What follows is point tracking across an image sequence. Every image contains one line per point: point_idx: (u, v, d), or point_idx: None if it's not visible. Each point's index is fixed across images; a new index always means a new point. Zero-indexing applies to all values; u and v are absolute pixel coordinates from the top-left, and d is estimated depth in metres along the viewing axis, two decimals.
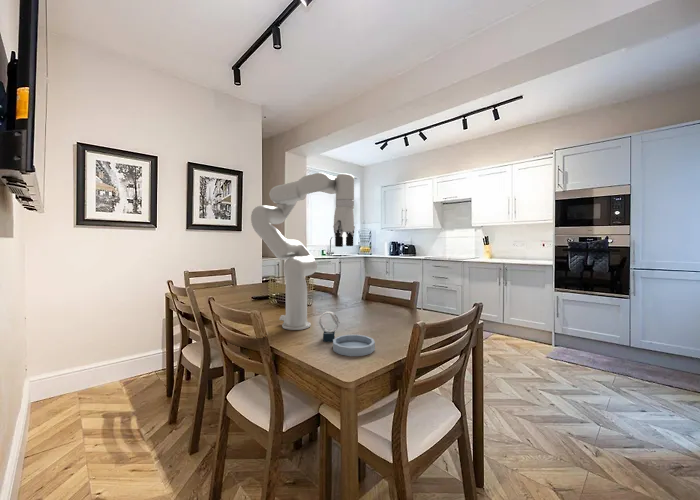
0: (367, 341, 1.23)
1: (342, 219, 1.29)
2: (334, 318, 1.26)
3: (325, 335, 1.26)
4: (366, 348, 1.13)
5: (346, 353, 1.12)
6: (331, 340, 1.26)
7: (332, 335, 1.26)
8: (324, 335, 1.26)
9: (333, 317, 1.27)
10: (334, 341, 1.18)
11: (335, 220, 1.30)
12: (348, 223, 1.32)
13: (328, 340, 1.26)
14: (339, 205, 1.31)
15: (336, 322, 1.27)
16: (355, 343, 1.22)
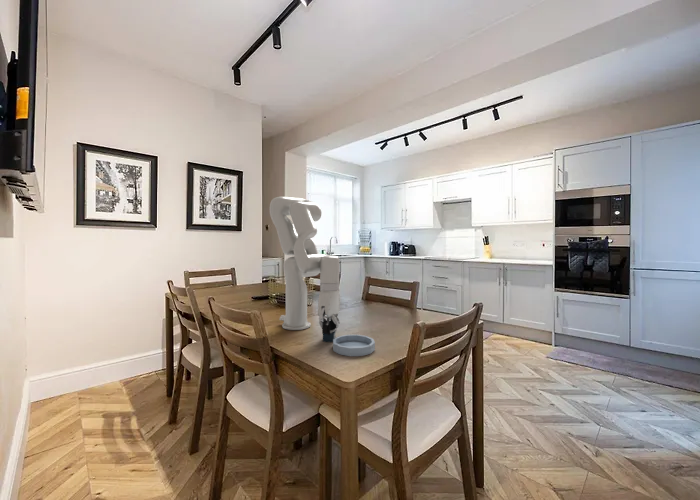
0: (367, 341, 1.23)
1: (326, 305, 1.23)
2: (334, 318, 1.26)
3: (325, 335, 1.26)
4: (366, 348, 1.13)
5: (346, 353, 1.12)
6: (331, 340, 1.26)
7: (331, 335, 1.26)
8: (324, 335, 1.26)
9: (333, 317, 1.26)
10: (334, 341, 1.18)
11: (319, 305, 1.25)
12: (333, 307, 1.26)
13: (328, 340, 1.26)
14: (323, 289, 1.25)
15: (336, 322, 1.26)
16: (355, 343, 1.22)
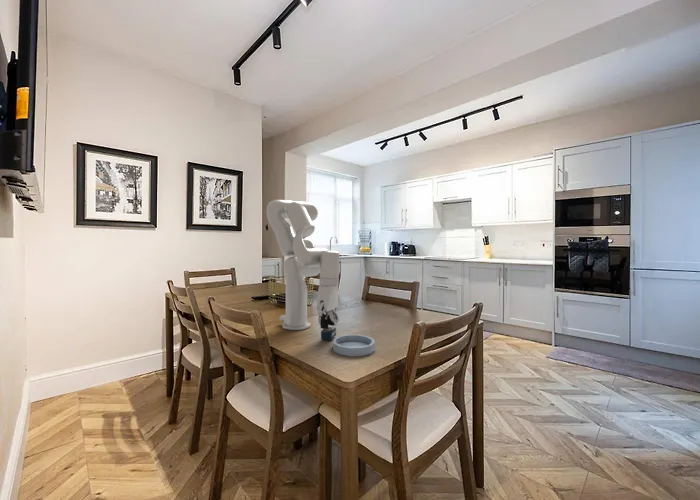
0: (367, 341, 1.23)
1: (325, 299, 1.24)
2: (331, 317, 1.26)
3: (323, 333, 1.27)
4: (366, 348, 1.13)
5: (346, 353, 1.12)
6: (328, 338, 1.27)
7: (329, 333, 1.26)
8: (322, 333, 1.27)
9: (330, 316, 1.26)
10: (334, 341, 1.18)
11: (318, 300, 1.25)
12: (331, 302, 1.26)
13: (326, 338, 1.27)
14: (323, 284, 1.25)
15: (333, 321, 1.26)
16: (355, 343, 1.22)
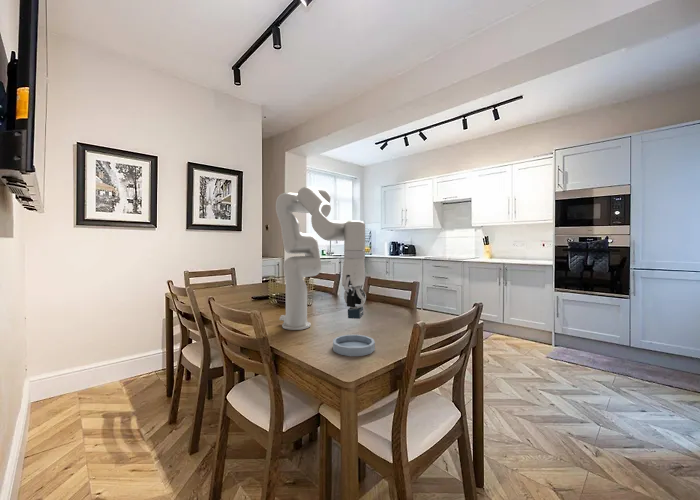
0: (367, 341, 1.23)
1: (352, 273, 1.13)
2: (358, 293, 1.15)
3: (350, 311, 1.16)
4: (366, 348, 1.13)
5: (346, 353, 1.12)
6: (356, 317, 1.15)
7: (357, 311, 1.15)
8: (349, 311, 1.16)
9: (357, 292, 1.15)
10: (334, 341, 1.18)
11: (344, 274, 1.14)
12: (358, 277, 1.15)
13: (353, 317, 1.15)
14: (348, 257, 1.14)
15: (361, 297, 1.15)
16: (355, 343, 1.22)
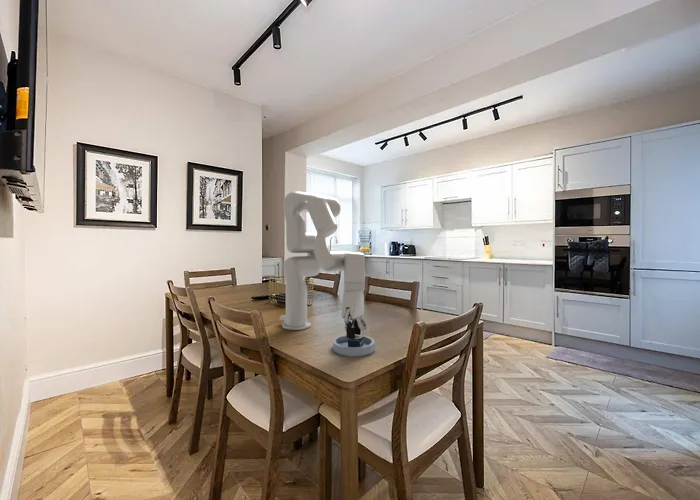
0: (367, 341, 1.23)
1: (352, 306, 1.13)
2: (359, 324, 1.15)
3: (350, 342, 1.16)
4: (366, 348, 1.13)
5: (346, 353, 1.12)
6: None
7: (357, 342, 1.15)
8: (349, 341, 1.16)
9: (358, 323, 1.15)
10: (334, 341, 1.18)
11: (343, 306, 1.14)
12: (358, 308, 1.16)
13: None
14: (348, 289, 1.15)
15: (362, 329, 1.15)
16: None
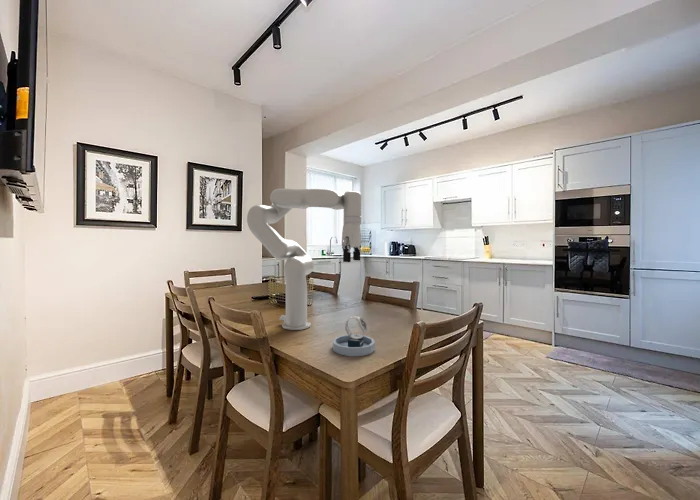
0: (367, 341, 1.23)
1: (350, 235, 1.33)
2: (360, 324, 1.15)
3: (350, 342, 1.16)
4: (366, 348, 1.13)
5: (346, 353, 1.12)
6: None
7: (357, 342, 1.15)
8: (349, 341, 1.16)
9: (359, 323, 1.16)
10: (334, 341, 1.18)
11: (343, 236, 1.35)
12: (355, 239, 1.36)
13: None
14: (347, 222, 1.35)
15: (362, 328, 1.15)
16: None
